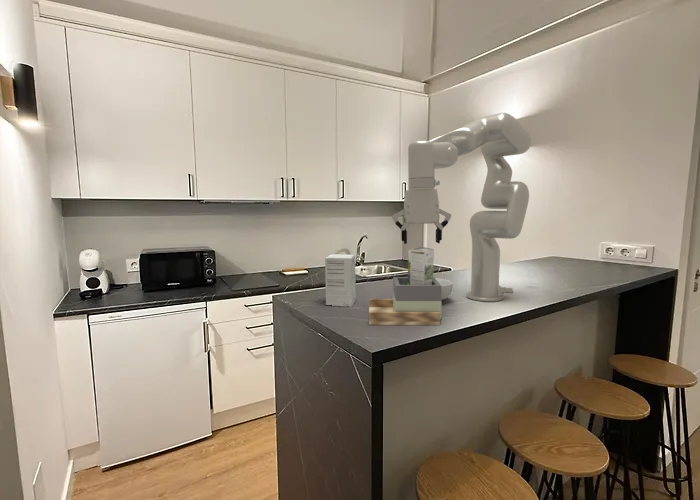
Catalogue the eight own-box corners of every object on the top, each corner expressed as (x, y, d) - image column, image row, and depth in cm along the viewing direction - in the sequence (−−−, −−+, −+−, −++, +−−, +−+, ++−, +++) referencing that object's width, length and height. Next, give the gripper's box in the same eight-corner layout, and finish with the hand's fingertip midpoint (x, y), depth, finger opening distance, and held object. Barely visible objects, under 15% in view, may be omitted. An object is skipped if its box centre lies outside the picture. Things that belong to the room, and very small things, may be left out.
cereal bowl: (454, 307, 120) (454, 286, 120) (403, 305, 124) (403, 285, 123) (450, 295, 137) (450, 277, 136) (405, 294, 140) (406, 276, 139)
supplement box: (331, 299, 134) (330, 253, 132) (356, 299, 132) (355, 254, 130) (325, 306, 124) (324, 257, 122) (351, 307, 123) (351, 257, 121)
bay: (430, 309, 118) (430, 298, 118) (439, 325, 102) (439, 313, 102) (369, 309, 120) (369, 298, 119) (368, 324, 104) (368, 312, 103)
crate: (433, 306, 117) (434, 277, 116) (441, 318, 104) (441, 285, 103) (393, 306, 118) (393, 277, 116) (395, 318, 105) (395, 285, 104)
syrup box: (416, 292, 114) (416, 246, 113) (433, 295, 110) (434, 247, 109) (406, 296, 110) (407, 248, 108) (424, 299, 106) (425, 249, 104)
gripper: (448, 184, 109) (448, 241, 112) (391, 186, 111) (391, 242, 113) (454, 183, 102) (453, 244, 104) (392, 185, 103) (393, 245, 105)
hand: (421, 243), depth 108 cm, fingers open, 9 cm apart
